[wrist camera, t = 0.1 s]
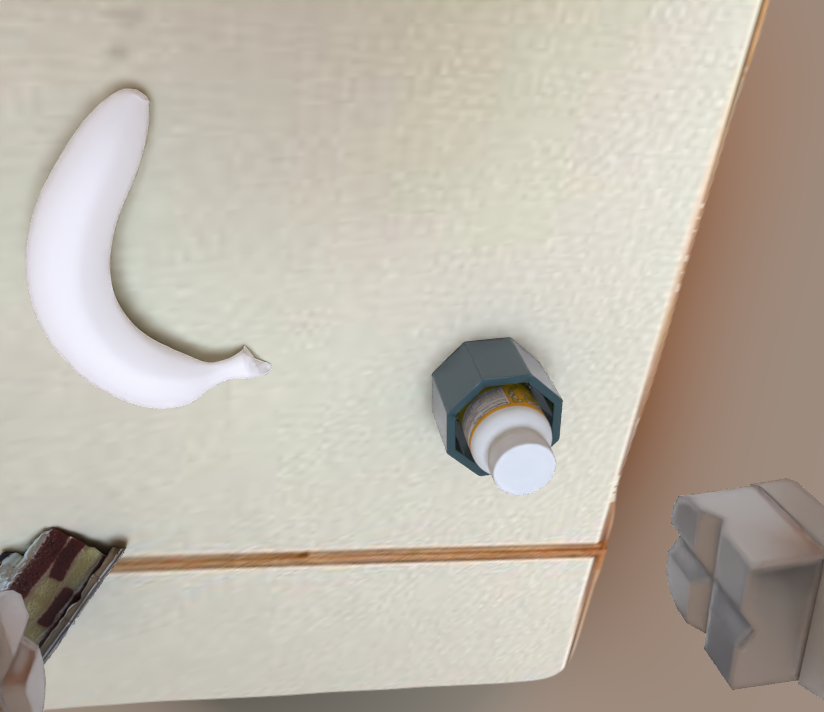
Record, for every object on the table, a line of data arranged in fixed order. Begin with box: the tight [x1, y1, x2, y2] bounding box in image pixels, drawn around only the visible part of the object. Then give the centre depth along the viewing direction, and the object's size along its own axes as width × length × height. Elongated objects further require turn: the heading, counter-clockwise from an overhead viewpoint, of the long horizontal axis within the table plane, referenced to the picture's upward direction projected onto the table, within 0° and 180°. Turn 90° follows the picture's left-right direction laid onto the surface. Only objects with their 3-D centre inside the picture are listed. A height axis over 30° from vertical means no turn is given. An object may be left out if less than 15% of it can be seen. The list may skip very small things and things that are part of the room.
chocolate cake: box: [0, 528, 127, 664], centre depth 57 cm, size 10×7×12 cm
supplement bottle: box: [456, 382, 556, 495], centre depth 52 cm, size 5×5×10 cm
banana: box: [26, 88, 271, 409], centre depth 46 cm, size 5×19×15 cm
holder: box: [432, 338, 563, 476], centre depth 54 cm, size 8×8×5 cm
